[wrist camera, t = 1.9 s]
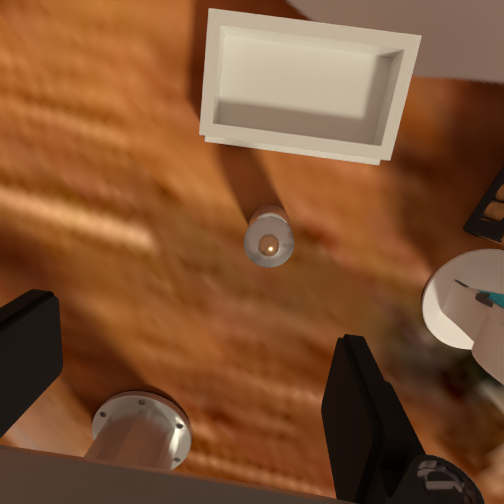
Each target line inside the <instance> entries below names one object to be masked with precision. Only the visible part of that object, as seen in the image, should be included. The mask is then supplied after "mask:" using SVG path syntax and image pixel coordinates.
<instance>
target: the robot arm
mask: <svg viewBox="0 0 504 504" xmlns="http://www.w3.org/2000/svg"><path fill="white" fill-rule="evenodd" d="M62 368H63V356H62V342H61V327H60V313H59V301H58V298H57V297H55V296H54V294H53V293H52V292H50V291H43V290H37V289H32V290H30V291H28V292H26V293H24V294H23V295H21V296H19V297H18V298H16V299H14V300H13V301H11V302H9V303H8V304H6V305H4V306H3V307H1V308H0V438H1V437H2V436H3V435H4V434H5V433H6V432H7V431H8V429H9V428H10V427H11V426H12V425H13V424H14V423H15V422H16V421H17V420H18V419H19V418H20V417H21V416H22V414H23V413H24V412H25V411H26V410H27V409H28V408H29V407H30V406H31V405H32V404H33V403H34V402H35V401H36V399H37V398H38V397H39V396H40V395H41V394H42V393H43V392H44V391H45V390H46V389H47V388H48V387H49V386H50V384H51V383H52V382H53V381H54V380H55V379H56V378H57V377H58V376H59V375H60V373H61V371H62ZM321 414H322V420H323V425H324V431H325V436H326V442H327V447H328V453H329V458H330V464H331V469H332V475H333V480H334V486H335V492H336V497H337V499H334V498H329V497H325V496H319V495H314V494H309V493H303V492H297V491H291V490H286V489H280V488H274V487H269V486H263V485H257V484H251V483H244V482H238V481H232V480H226V479H219V478H213V477H207V476H201V475H194V474H188V473H182V472H175V471H170V470H171V469H174V468H175V467H177V466H178V465H179V464H181V463H182V462H183V460H184V459H185V458H186V456H187V454H188V452H189V450H190V446H191V443H192V430H191V426H190V424H189V421H188V419H187V418H186V416H185V414H184V413H183V412H182V411H181V410H180V409H179V408H178V407H177V406H176V405H175V404H173V403H172V402H171V401H169V400H167V399H165V398H164V397H162V396H159V395H156V394H153V393H149V392H144V391H128V392H122V393H119V394H116V395H114V396H112V397H111V398H109V399H107V400H106V401H105V402H104V403H103V404H102V405H101V407H100V408H99V409H98V411H97V412H96V414H95V416H94V418H93V422H92V435H93V439H94V442H93V443H92V445H91V446H90V448H89V450H88V451H87V453H86V455H85V456H84V457H78V456H72V455H65V454H59V453H52V452H45V451H38V450H32V449H25V448H18V447H11V446H4V445H0V504H485V502H484V499H483V497H482V494H481V492H480V490H479V489H478V487H477V486H476V484H475V483H474V482H473V480H472V479H471V478H470V477H469V476H468V475H467V474H466V473H465V472H464V471H462V470H461V469H460V468H458V467H457V466H456V465H454V464H453V463H451V462H449V461H447V460H445V459H443V458H440V457H437V456H434V455H426V453H425V451H424V449H423V447H422V445H421V443H420V441H419V439H418V437H417V435H416V433H415V431H414V429H413V427H412V425H411V423H410V421H409V419H408V417H407V415H406V413H405V411H404V409H403V407H402V405H401V403H400V401H399V399H398V397H397V395H396V393H395V391H394V389H393V387H392V385H391V384H390V383H389V382H387V381H385V380H384V378H383V376H382V374H381V372H380V370H379V368H378V366H377V363H376V361H375V359H374V357H373V355H372V353H371V351H370V349H369V347H368V345H367V343H366V340H365V338H364V337H363V336H356V335H349V334H345V335H344V337H343V338H338V340H337V343H336V347H335V351H334V355H333V359H332V364H331V368H330V372H329V376H328V380H327V384H326V388H325V392H324V396H323V401H322V407H321Z"/></svg>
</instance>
